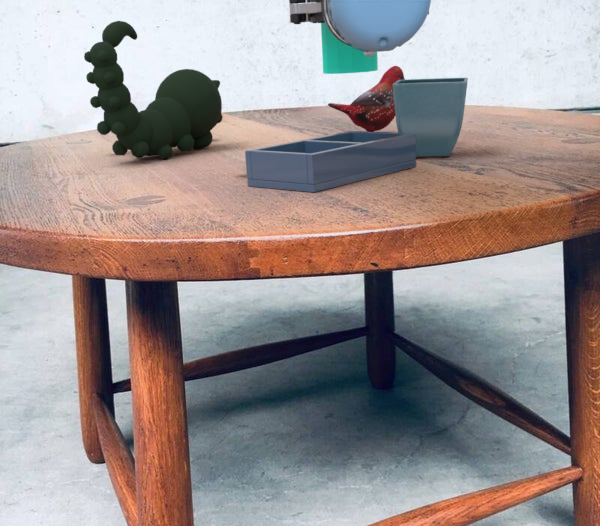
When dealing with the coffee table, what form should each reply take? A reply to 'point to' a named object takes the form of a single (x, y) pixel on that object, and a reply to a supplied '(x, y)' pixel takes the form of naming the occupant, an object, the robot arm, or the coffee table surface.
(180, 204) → the coffee table surface
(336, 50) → the candle
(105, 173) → the coffee table surface
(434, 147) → the flower pot
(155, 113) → the toy figurine
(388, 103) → the decorative bird figurine
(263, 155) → the divided storage tray
